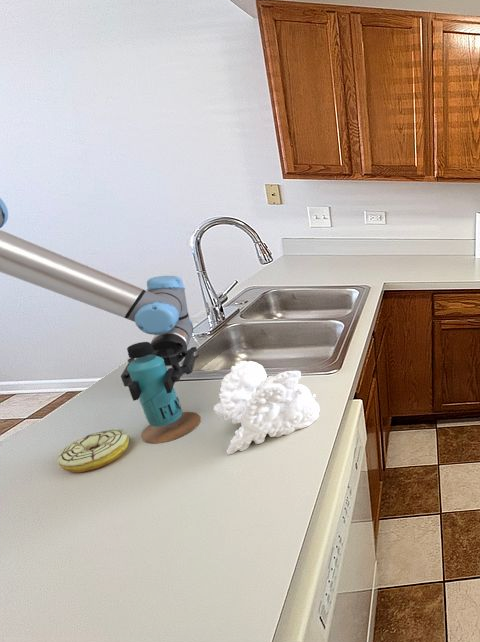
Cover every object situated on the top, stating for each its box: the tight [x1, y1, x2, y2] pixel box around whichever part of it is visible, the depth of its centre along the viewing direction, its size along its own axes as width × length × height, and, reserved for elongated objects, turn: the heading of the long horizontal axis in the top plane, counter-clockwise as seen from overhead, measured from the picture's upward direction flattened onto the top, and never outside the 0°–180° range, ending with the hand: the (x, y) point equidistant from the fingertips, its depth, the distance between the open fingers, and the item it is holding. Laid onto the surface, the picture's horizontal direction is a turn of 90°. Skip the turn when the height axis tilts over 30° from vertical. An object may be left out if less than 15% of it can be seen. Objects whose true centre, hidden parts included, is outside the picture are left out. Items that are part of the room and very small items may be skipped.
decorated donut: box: [56, 429, 130, 473], centre depth 81 cm, size 10×11×4 cm
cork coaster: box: [140, 411, 202, 445], centre depth 90 cm, size 11×11×1 cm
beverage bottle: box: [126, 341, 183, 427], centre depth 86 cm, size 6×7×20 cm
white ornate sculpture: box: [212, 360, 321, 456], centre depth 88 cm, size 19×20×20 cm
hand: (150, 390), depth 82 cm, fingers closed on beverage bottle, 5 cm apart
